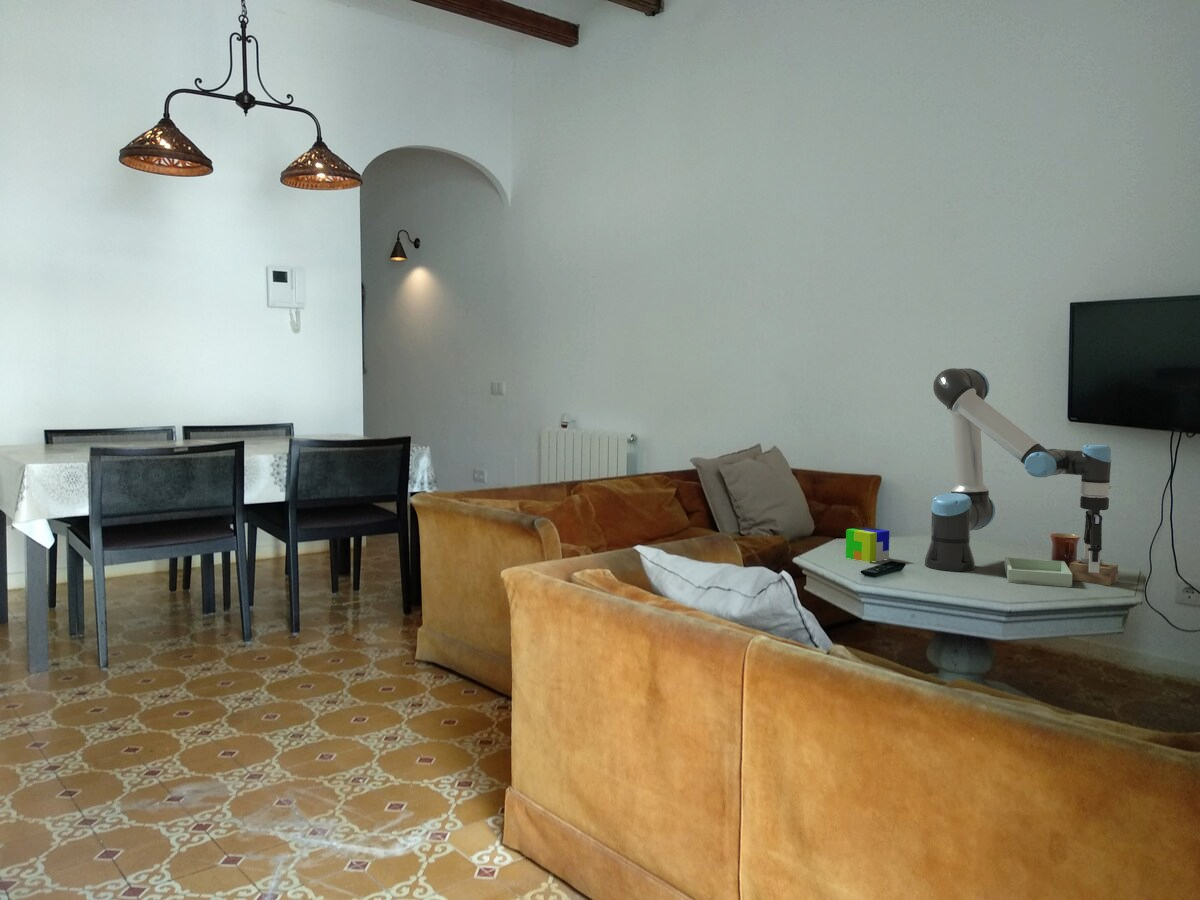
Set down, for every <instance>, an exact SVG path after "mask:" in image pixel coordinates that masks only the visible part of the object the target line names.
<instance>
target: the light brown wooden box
mask: <svg viewBox="0 0 1200 900" xmlns="http://www.w3.org/2000/svg"><path fill="white" fill-rule="evenodd" d="M1081 561H1082V559H1077V560H1076V561H1074V562H1071V563H1070V564H1069V570H1070V571H1071V573H1072V581H1076V582H1077V581H1078V582H1084V583H1089V584H1097V585H1103V586H1111V585H1113V584H1115V583H1117V582H1118V573H1119V572H1118V571H1119V569H1118V568H1119V565H1118V564H1113V563H1104V562H1102V564H1100V567H1099V573H1092V572H1089V565H1087V563H1082V562H1081Z"/></svg>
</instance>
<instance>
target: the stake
mask: <svg viewBox="0 0 1200 900" xmlns="http://www.w3.org/2000/svg"><path fill="white" fill-rule="evenodd" d="M1081 560H1082V561H1081V562H1082V563H1087V565H1089V558H1084V557H1081ZM1102 563H1103V559H1102V558H1100V564H1102Z"/></svg>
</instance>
